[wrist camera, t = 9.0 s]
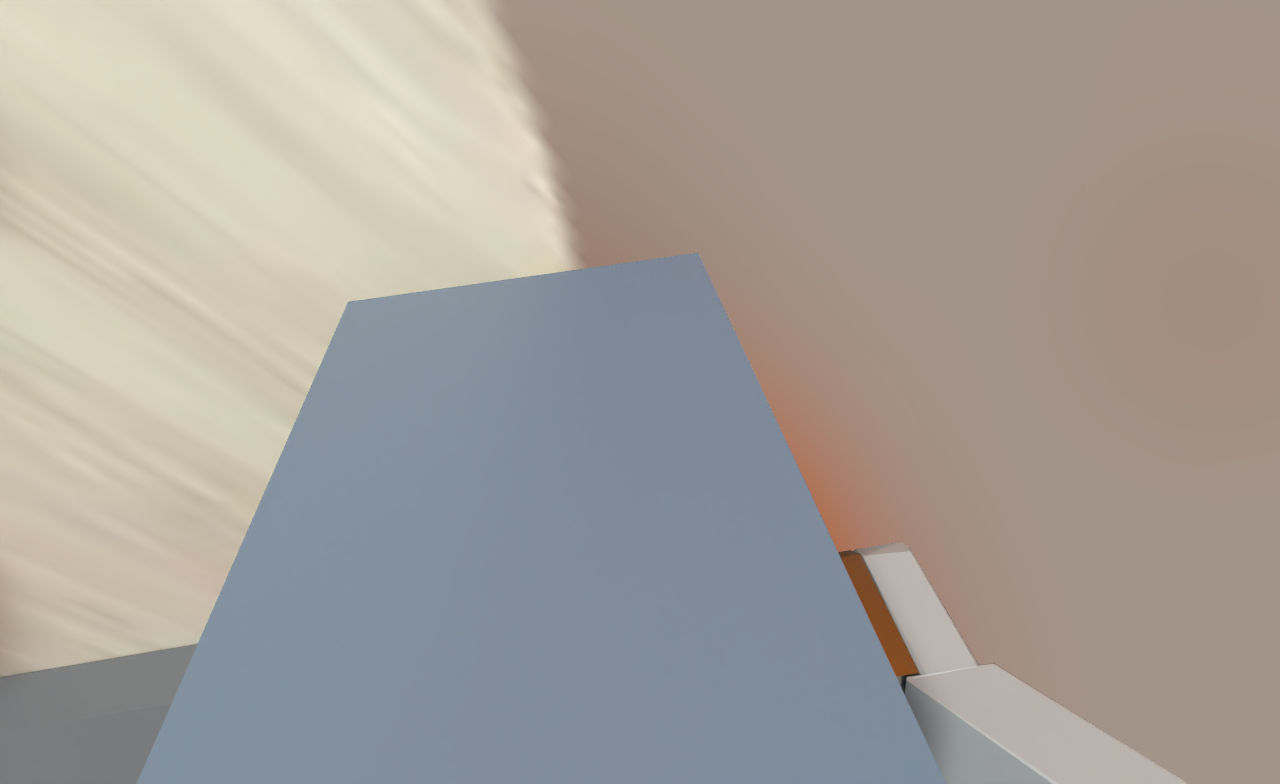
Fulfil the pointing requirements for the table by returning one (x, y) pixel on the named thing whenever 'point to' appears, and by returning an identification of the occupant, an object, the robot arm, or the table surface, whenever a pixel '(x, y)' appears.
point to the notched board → (87, 718)
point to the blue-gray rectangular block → (539, 563)
